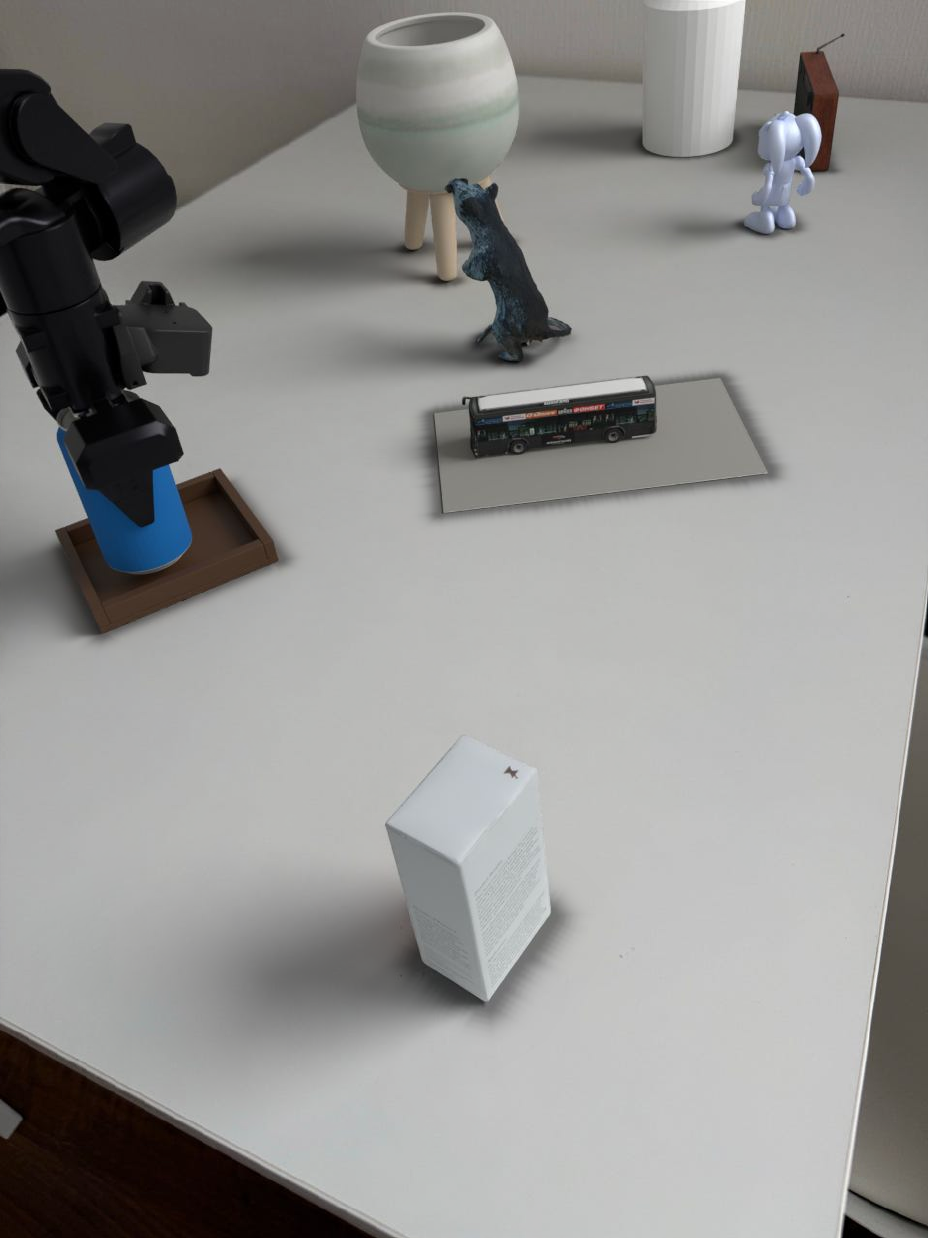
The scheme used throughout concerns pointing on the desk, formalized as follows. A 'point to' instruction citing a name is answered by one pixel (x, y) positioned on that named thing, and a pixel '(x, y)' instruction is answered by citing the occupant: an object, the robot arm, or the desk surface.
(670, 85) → the bottle
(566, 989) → the desk surface
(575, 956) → the desk surface
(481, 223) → the sculpture
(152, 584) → the walnut tray
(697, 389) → the model bus display
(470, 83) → the planter
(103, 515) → the beverage can
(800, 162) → the toy figurine
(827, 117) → the radio
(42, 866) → the desk surface
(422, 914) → the cosmetic box
